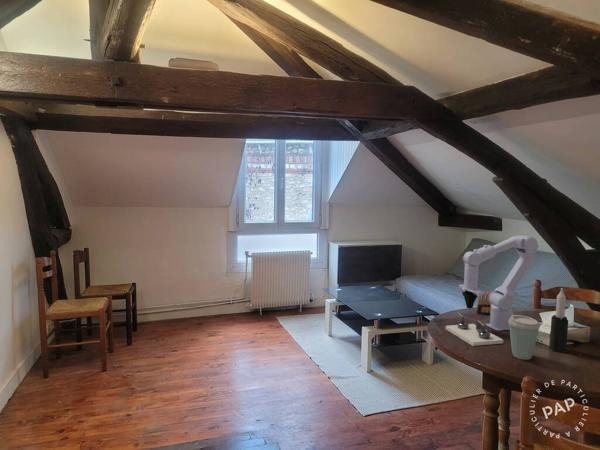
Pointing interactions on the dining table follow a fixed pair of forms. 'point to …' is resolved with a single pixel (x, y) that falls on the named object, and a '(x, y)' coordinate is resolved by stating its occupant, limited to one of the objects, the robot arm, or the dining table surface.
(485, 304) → the ammunition clip
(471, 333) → the base
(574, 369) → the dining table surface
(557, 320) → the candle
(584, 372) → the dining table surface
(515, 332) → the disposable coffee cup
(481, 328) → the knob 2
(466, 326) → the knob
